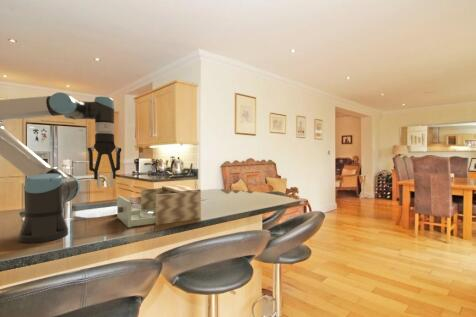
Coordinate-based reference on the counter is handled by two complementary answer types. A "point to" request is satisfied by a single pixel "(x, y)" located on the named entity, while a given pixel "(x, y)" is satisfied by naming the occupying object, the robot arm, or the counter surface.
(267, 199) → the counter surface
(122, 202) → the tray
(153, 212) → the disc
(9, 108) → the robot arm
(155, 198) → the case
